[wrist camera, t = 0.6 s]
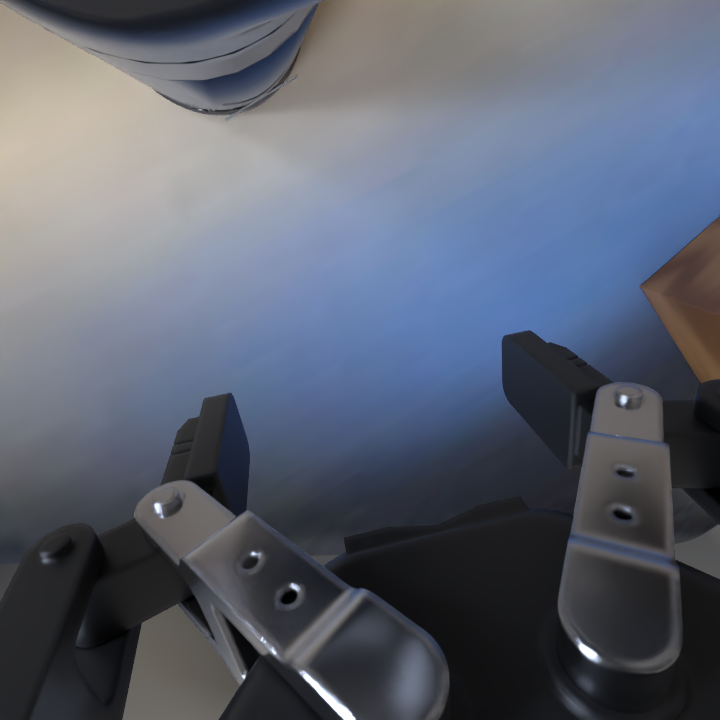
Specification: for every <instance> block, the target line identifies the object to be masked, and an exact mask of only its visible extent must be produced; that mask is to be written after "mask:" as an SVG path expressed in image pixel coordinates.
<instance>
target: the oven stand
mask: <svg viewBox="0 0 720 720" xmlns="http://www.w3.org/2000/svg"><path fill="white" fill-rule="evenodd" d="M640 288H641V289H642V291H643V292H644V294H645V295H646V297H647V299H648V300H649V302H650V303H651V305H652V307H653V308H654V310H655V311H656V313H657V315H658V316H659V318H660V319H661V321H662V323H663V324H664V326H665V327H666V329H667V330H668V332H669V334H670V335H671V337H672V338H673V340H674V342H675V343H676V345H677V346H678V348H679V350H680V351H681V353H682V354H683V356H684V357H685V359H686V361H687V362H688V364H689V365H690V367H691V369H692V370H693V372H694V373H695V375H696V377H697V378H698V380H699V381H700V383H701V384H702V383H704V382H706V381H710V380H716V379H720V217H719V218H717V219H716V220H715V221H714V222H713V223H712V224H711V225H709V226H708V227H707V228H706V229H705V230H704V231H703V232H701V233H700V234H699V235H698V236H697V237H696V238H695V239H694V240H692V241H691V242H690V243H689V244H688V245H687V246H686V247H684V248H683V249H682V250H681V251H680V252H679V253H678V254H676V255H675V256H674V257H673V258H672V259H671V260H670V261H669V262H667V263H666V264H665V265H664V266H663V267H662V268H661V269H659V270H658V271H657V272H656V273H655V274H654V275H653V276H651V277H650V278H649V279H648V280H647V281H646V282H645V283H644V284H642V285H641V286H640Z"/></svg>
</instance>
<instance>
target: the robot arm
mask: <svg viewBox="0 0 720 720" xmlns="http://www.w3.org/2000/svg"><path fill="white" fill-rule="evenodd" d="M322 1H324V0H0V3H1V4H3V5H5V6H6V7H8V8H10V9H11V10H13V11H15V12H16V13H18V14H20V15H22V16H23V17H25V18H27V19H29V20H30V21H32V22H34V23H36V24H38V25H39V26H41V27H43V28H44V29H46V30H48V31H50V32H51V33H53V34H55V35H57V36H59V37H60V38H62V39H64V40H66V41H68V42H69V43H71V44H73V45H75V46H77V47H78V48H80V49H82V50H84V51H86V52H87V53H89V54H91V55H94V56H95V57H97V58H99V59H101V60H103V61H104V62H106V63H108V64H110V65H111V66H113V67H115V68H117V69H119V70H120V71H122V72H124V73H126V74H128V75H129V76H131V77H133V78H135V79H136V80H138V81H140V82H142V83H144V84H145V85H147V86H149V87H151V88H152V89H154V90H155V91H156V92H157V93H159V94H160V95H162V96H163V97H165V98H166V99H168V100H170V101H172V102H173V103H175V104H177V105H179V106H181V107H184V108H186V109H189V110H191V111H194V112H198V113H202V114H208V115H231V116H229V117H227V118H226V120H228V119H229V118H231V117H233V116H234V115H236V114H238V113H241V112H245V111H248V110H250V109H252V108H255V107H257V106H258V105H260V104H262V103H263V102H265V101H266V100H267V99H269V98H270V97H271V96H272V95H273V94H274V93H275V92H276V91H277V90H278V89H279V88H280V87H282V86H283V85H285V84H287V83H288V82H290V81H292V80H293V79H295V78H296V77H297V75H296V76H294V77H293V78H291V79H290V80H288V81H286V82H285V83H284V81H285V80H286V79H287V77H288V75H289V74H290V72H291V70H292V68H293V66H294V63H295V61H296V59H297V56H298V53H299V50H300V46H301V43H302V41H303V38H304V36H305V34H306V31H307V29H308V27H309V24H310V22H311V20H312V17H313V15H314V13H315V10H316V8H317V6H318V3H319V2H322ZM502 383H503V389H504V392H505V395H506V397H507V399H508V401H509V402H510V404H511V405H512V406H513V407H514V408H515V409H516V410H517V412H518V413H519V414H520V415H521V416H522V417H523V419H524V420H525V421H526V422H527V423H528V424H529V425H530V427H531V428H532V429H533V430H534V431H535V432H536V433H537V435H538V436H539V437H540V438H541V439H542V440H543V442H544V443H545V444H546V445H547V446H548V447H549V448H550V450H551V451H552V452H553V453H554V454H555V455H556V456H557V458H558V459H559V460H560V461H561V462H562V463H563V465H564V466H565V467H566V468H567V469H568V470H573V469H577V468H581V467H582V470H581V475H580V481H579V487H578V493H577V499H576V505H575V511H574V515H571V514H568V513H564V512H560V511H556V510H549V509H540V508H528V506H527V505H526V503H525V502H524V500H523V499H522V497H521V496H516V497H511V498H507V499H503V500H499V501H495V502H491V503H486V504H482V505H478V506H476V507H474V508H472V509H470V510H468V511H466V512H464V513H462V514H460V515H458V516H456V517H453V518H451V519H449V520H447V521H445V522H443V523H441V524H439V525H433V526H406V527H386V528H382V529H378V530H374V531H370V532H366V533H361V534H357V535H353V536H349V537H345V538H344V542H345V548H346V552H345V553H343V554H341V555H339V556H338V557H336V558H335V559H333V560H332V561H330V562H328V563H327V564H326V565H325V566H322V565H321V564H320V563H318V562H317V561H316V560H314V559H313V558H312V557H310V556H309V555H308V554H306V553H305V552H304V551H302V550H301V549H300V548H298V547H297V546H296V545H294V544H293V543H292V542H290V541H289V540H288V539H286V538H285V537H284V536H282V535H281V534H280V533H278V532H277V531H276V530H274V529H273V528H272V527H270V526H269V525H268V524H266V523H265V522H264V521H262V520H261V519H260V518H258V517H257V516H256V515H254V514H253V513H252V512H250V511H247V510H246V507H247V493H248V479H249V464H250V452H249V445H248V441H247V437H246V434H245V431H244V427H243V424H242V421H241V418H240V415H239V412H238V409H237V405H236V402H235V399H234V397H233V395H232V393H227V394H222V395H217V396H213V397H208V398H204V400H203V404H202V408H201V412H200V416H199V417H196V418H191V419H188V420H187V421H186V423H185V424H184V425H183V426H182V427H181V428H180V429H179V430H178V432H177V435H176V438H175V442H174V446H173V448H172V451H171V456H170V457H169V461H168V464H167V467H166V470H165V473H164V476H163V480H162V483H161V486H159V487H157V488H156V489H154V490H152V491H151V492H149V493H148V494H147V495H146V496H145V497H144V498H143V499H142V500H141V501H140V502H139V504H138V505H137V507H136V510H135V518H134V519H132V520H130V521H129V522H126V523H124V524H122V525H120V526H118V527H116V528H113V529H111V530H109V531H107V532H104V533H102V534H100V535H98V536H97V535H96V533H95V531H94V529H93V528H92V527H91V526H90V525H87V524H82V523H78V524H71V525H67V526H64V527H62V528H59V529H57V530H55V531H53V532H51V533H49V534H48V535H46V536H44V537H43V538H42V539H40V540H39V541H38V542H36V543H35V544H34V545H33V546H32V547H31V548H30V549H29V550H28V552H27V553H26V554H25V555H24V557H23V559H22V561H21V563H20V564H19V566H18V568H17V570H16V572H15V574H14V576H13V578H12V580H11V582H10V584H9V586H8V588H7V590H6V592H5V594H4V596H3V598H2V599H1V601H0V720H122V718H123V713H124V708H125V703H126V698H127V694H128V688H129V683H130V679H131V674H132V668H133V664H134V659H135V654H136V648H137V644H138V639H139V634H140V629H141V624H142V622H144V621H146V620H148V619H150V618H151V617H153V616H155V615H157V614H159V613H161V612H163V611H165V610H167V609H168V608H170V607H172V606H174V605H176V604H178V605H179V607H180V608H181V609H182V610H183V611H184V613H185V614H186V615H187V616H188V617H189V619H190V620H191V621H192V622H193V623H194V624H195V626H196V627H197V628H198V629H199V630H200V632H201V633H202V634H203V635H204V636H205V638H206V639H207V640H208V641H209V642H210V644H211V645H212V646H213V647H214V648H215V649H216V651H217V652H218V653H219V654H220V656H221V657H222V658H223V660H224V662H225V663H226V665H227V666H228V668H229V670H230V671H231V673H232V674H233V676H234V677H235V679H236V680H237V682H238V683H239V685H240V687H239V689H238V690H237V692H236V693H235V695H234V697H233V698H232V700H231V701H230V703H229V704H228V706H227V707H226V709H225V711H224V712H223V714H222V715H221V717H220V718H219V720H720V579H718V578H716V577H713V576H711V575H709V574H706V573H704V572H702V571H700V570H697V569H695V568H693V567H691V566H688V565H686V564H684V563H682V562H679V561H677V560H675V549H674V529H673V509H672V489H671V488H683V490H684V491H685V492H686V493H687V494H688V495H689V496H690V497H691V498H692V499H694V500H695V501H696V502H697V503H698V504H699V505H700V506H701V507H702V508H703V509H704V510H705V511H706V512H707V513H708V514H709V515H710V516H711V517H712V518H713V519H714V520H715V521H716V522H717V523H718V524H719V525H720V379H716V380H710V381H706V382H704V383H702V384H700V386H699V387H698V390H697V395H696V400H669V401H664V400H662V398H661V396H660V395H659V394H658V393H657V392H656V391H654V390H652V389H650V388H648V387H646V386H643V385H639V384H635V383H625V382H618V383H613V382H612V381H611V380H609V379H608V378H607V377H605V376H604V375H603V374H601V373H600V372H599V371H597V370H596V369H594V368H593V367H592V366H590V365H587V363H586V362H585V361H584V360H582V359H581V358H578V356H577V355H576V354H574V353H573V352H572V351H570V350H569V349H568V348H565V347H563V346H560V345H557V344H554V343H551V342H549V343H546V342H545V341H544V340H542V339H541V338H540V337H539V336H537V335H536V334H535V333H533V332H532V331H530V330H528V331H523V332H519V333H514V334H509V335H505V336H504V337H503V339H502Z"/></svg>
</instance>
